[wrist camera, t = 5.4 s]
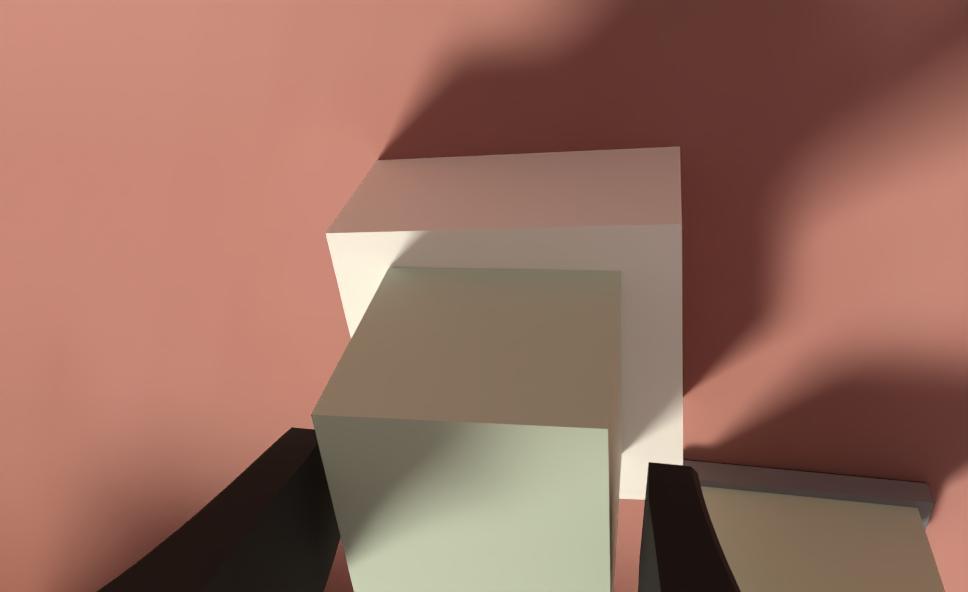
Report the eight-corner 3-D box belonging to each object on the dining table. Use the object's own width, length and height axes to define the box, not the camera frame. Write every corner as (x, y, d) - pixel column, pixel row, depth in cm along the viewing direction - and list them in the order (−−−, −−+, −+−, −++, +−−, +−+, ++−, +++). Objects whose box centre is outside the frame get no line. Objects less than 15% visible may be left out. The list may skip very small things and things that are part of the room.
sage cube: (621, 270, 14) (608, 428, 11) (621, 453, 16) (610, 632, 13) (388, 267, 15) (311, 415, 12) (417, 442, 17) (358, 609, 14)
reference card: (927, 483, 19) (998, 684, 15) (911, 534, 20) (974, 736, 16) (672, 458, 20) (673, 642, 16) (666, 508, 21) (666, 693, 17)
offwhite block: (679, 140, 17) (681, 224, 14) (681, 389, 20) (683, 501, 17) (381, 154, 18) (325, 233, 15) (426, 386, 21) (387, 489, 18)
